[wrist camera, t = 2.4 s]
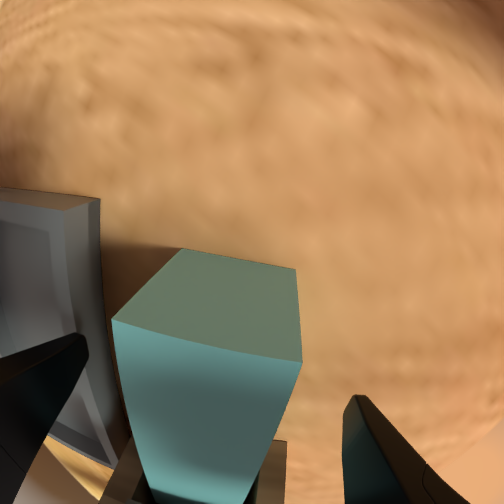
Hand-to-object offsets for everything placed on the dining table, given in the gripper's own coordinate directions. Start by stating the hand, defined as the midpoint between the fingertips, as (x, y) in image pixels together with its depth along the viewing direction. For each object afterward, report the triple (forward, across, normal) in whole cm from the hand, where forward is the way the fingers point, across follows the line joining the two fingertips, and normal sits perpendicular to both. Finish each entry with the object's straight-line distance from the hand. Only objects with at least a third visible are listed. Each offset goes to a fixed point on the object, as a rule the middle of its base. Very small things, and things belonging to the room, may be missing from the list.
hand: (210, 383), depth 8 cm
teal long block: (+3, 0, +3) cm, 4 cm away
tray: (+3, +10, +4) cm, 11 cm away
